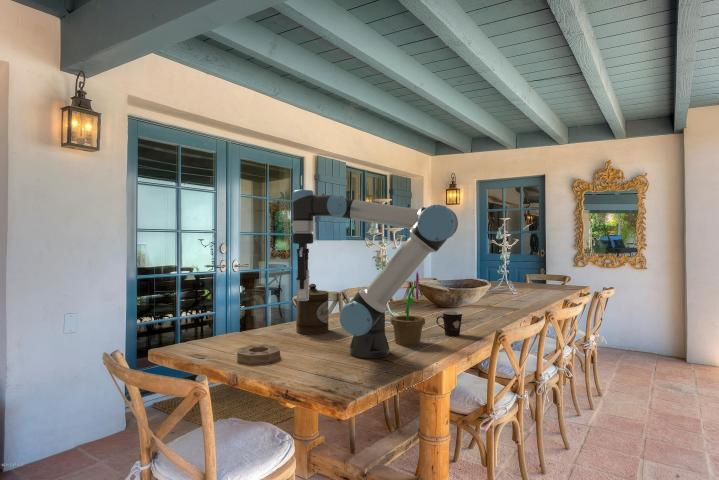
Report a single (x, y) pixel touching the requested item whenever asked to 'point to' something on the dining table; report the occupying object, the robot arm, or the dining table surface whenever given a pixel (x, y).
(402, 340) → the flowerpot
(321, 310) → the wooden container
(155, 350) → the dining table surface
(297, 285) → the light grey rectangular block
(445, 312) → the coffee mug
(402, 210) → the robot arm
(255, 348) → the brown wooden ring
